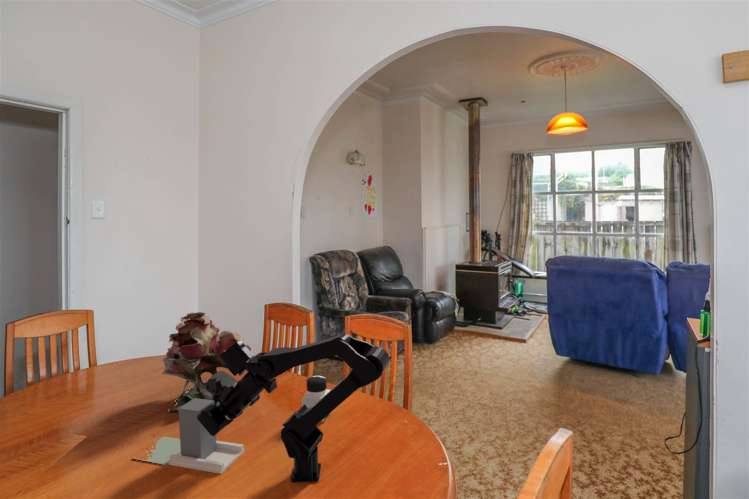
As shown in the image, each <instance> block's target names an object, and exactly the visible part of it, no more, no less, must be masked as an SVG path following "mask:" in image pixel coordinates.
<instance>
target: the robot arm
mask: <svg viewBox="0 0 749 499" xmlns="http://www.w3.org/2000/svg"><path fill="white" fill-rule="evenodd" d="M245 345H246V344H245V342H244V341H243V342H242V340H239V341H237V342H235V343H234V344H233V345H232V346H231V347H229V348H228V349H227V350H226V351H224V352H222V354H221V355H220V356H219V359H220V360H221V361H222V362H223V364H224V365H225V366H226V367H227V368H228V371H230V373H231V374H232V375H233V376H232V375H231V374H229V373H227V372H225V371H224V370H220V371H217V373H216V374H214V375H212V374H211V376H210V378H208V380H207V382H206V383H205V384H206V390H207V391H208V392H210V393H211V394H218V395H220V398H219V400H220V401H221V405H220V404H219V402H217V403H216V404H214V405H209V406H208V407H207V408H205V409H204V410H202V411H201V412H200V413H199V414H198V415H197V419H198V420H199V422H200V423H201V424H202V425H203V426H204V428H205V429H206V430H207V431H208V432H209V434H210V435H211V436H215V435H216V436H217V435H218V434H219V433H220V432H222V431H223V429H225V428H226V427H227V426H228V425H230V424H231V423H232V422H233V421H234V420H235V419H237V418H238V417H240V416H241V415H242V414H243V412H244V411H245V410H246V409H248V407H250V408H251V407H252V406H254V405H255V404H256V403H257V402H258V401H259V400H260V399H261V397H260V396H261V395H260V394H261V393H262V392H263V391H264V390H265V391H266V392H267V394H272V392H273V391H275V390H276V389H277V388H278V384H277V377H278V376H281V375H282V374H284V373H286V372H288V371H290V370H291V369H294V368H296V367H298V366H303V365H306V364H310V363H313V362H314V363H315V362H317V361H319V360H324V359H325V360H326V359H327V358H332V357H335V356H337V357H338V358H340V359H341V360H342V361H343V362H344V363H345V364H346V365H347V367H349V368H350V369H351V370H350V372H349V373H348V374H347V375H346V376H345V377H344V378H342V380H341V381H339V382H338V383H337V384H335V386H333V387H332V389H329V390H330V391H329V392H328V393H327V394H326V395H325V396H324V397H323V398H322V399H320V400H319V401H318V402H317V403H316V404H315V405H314V406H312V407H310V408H307V407H306V405H305V404H304V405H303V406H302V405H301V406H300V408H298V409H297V411H294V412H293V414H292V415H290V417H288V418H287V419H286V420H285V421H284V422H283V423H282V426H283V428H282V429H281V431H280V439H281V441H282V443H283V446H284V447H285V450H286V454H287V456H288V458H290V459H293V470H292V474H291V477H290V482H291V483H308V482H319V481H320V477H321V469H322V464H321V462H319V450H318V449H319V448H318V447H319V446H318V445H319V444H320V443H322V440H323V437H324V432H323V431H322V429H320V428H319V427H318V425H319V423H321V422H320V421H322V420H323V419H324V418H325V417H326V416H327V415H328V414H331V413H333V411H334V410H335V409H336V408H338V407H339V406H340V405H341V404H342V403H343V402H344V401H346V400H347V399H348V398H349V397H351V395H353V394H354V393H355V392H356V391H357V390H359V389H360V388H364V387H367V386H369V385H370V384H372V383H373V382H375V381H377V380H379V379H380V378H381V376H382V375H383V374H384V372H385V370H386V369H387V368H388V366H389V365H390V355H389V353H388V352H387V350H386V349H385V348H383V347H382V346H375V345H374V344H372V343H370V342H367V341H365V340H361V339H357V338H354V337H353V336H351V335H349V334H347V333H342V332H341V333H339V334H338V335H336V336H331V337H328V338H325V339H321V340H318V341H315V342H312V343H308V344H305V345H301V346H300V345H299V346H297V347H289V346H288V347H287V346H286V347H282V346H281V347H274V348H273V349H271V350H269V351H263V352H259V353H257V354H255V355H254V353H252V352H251V351H249V349H248V348H247V347H246V346H245ZM227 368H226V369H227ZM244 373H245V374H244ZM243 374H244V375H243ZM237 375H238V376H242V375H243V377H241V379H239V380H237V379H235V377H236V376H237Z"/></svg>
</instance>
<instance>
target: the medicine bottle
mask: <svg viewBox="0 0 749 499" xmlns="http://www.w3.org/2000/svg"><path fill="white" fill-rule="evenodd" d="M327 381H328V380H327V378H326V377H325V376H322V375H313V376H310V377H309V378H307V379H306V392H305V394H304V395H303V396H302V398H301V407H302V406H303V405H304V404H305V405H306V407H307V408H310V407H312V406H314V405H315V404H316V403H317V402H318V401H319V400H320V399H322V398H323V397H324V396H325V395H326V394H327V393H328V392H329V391H330V390H331V389H328V387H327V386H328V385H327ZM330 414H331V413H330ZM330 414H328V415H327V416H326V417H325V418H324V419H323V420H322V421H320V422H319V423H322V422H323V423H325V422H326V421H327V420H328V417H329V416H330Z"/></svg>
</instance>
